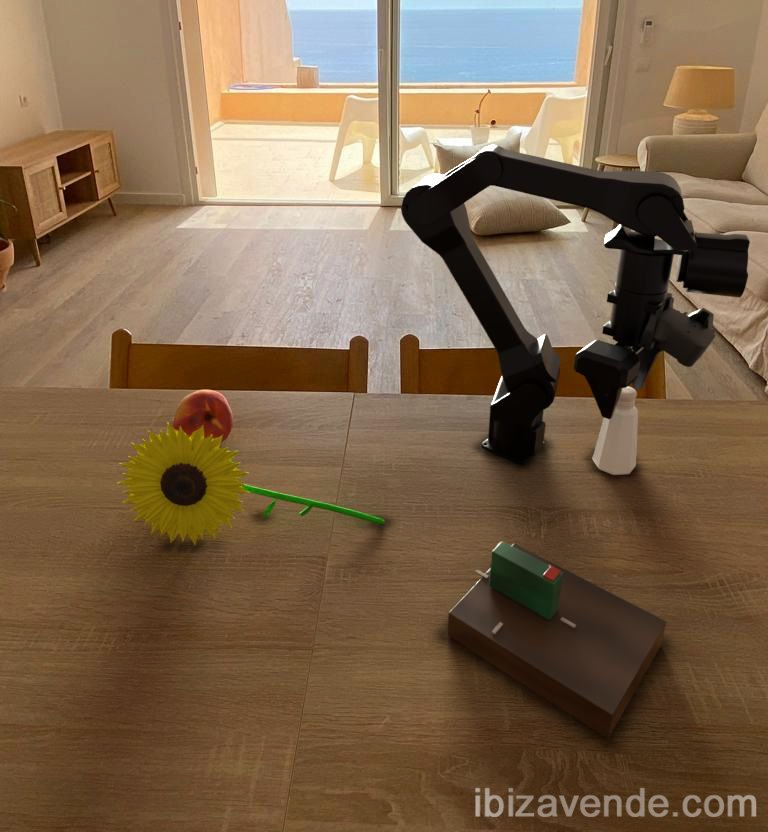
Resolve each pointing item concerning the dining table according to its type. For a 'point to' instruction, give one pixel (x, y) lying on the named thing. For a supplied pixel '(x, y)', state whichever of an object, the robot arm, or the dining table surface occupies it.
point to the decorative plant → (195, 485)
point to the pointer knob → (526, 580)
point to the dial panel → (564, 645)
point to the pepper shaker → (619, 437)
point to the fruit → (204, 414)
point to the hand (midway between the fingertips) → (622, 402)
